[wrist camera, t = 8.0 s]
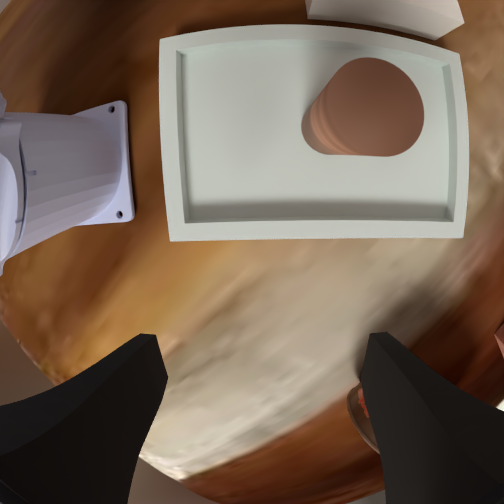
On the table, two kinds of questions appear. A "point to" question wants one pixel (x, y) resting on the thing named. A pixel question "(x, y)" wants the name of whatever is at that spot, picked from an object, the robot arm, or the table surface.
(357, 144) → the pin
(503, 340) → the house
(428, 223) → the tray
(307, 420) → the table surface
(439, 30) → the cup block
